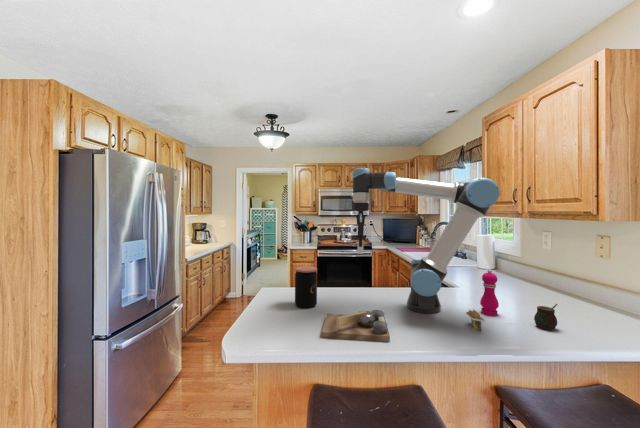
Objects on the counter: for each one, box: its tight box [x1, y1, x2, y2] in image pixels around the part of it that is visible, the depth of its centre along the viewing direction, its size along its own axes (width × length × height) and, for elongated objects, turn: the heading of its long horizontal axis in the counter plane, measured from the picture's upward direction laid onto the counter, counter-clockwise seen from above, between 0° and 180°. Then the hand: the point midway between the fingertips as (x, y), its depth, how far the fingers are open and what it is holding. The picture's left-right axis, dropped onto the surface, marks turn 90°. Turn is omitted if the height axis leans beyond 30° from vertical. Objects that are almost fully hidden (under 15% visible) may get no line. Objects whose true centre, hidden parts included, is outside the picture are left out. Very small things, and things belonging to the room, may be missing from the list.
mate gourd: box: [533, 303, 558, 331], centre depth 114 cm, size 7×8×10 cm
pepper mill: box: [480, 268, 499, 317], centre depth 129 cm, size 7×7×20 cm
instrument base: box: [321, 309, 391, 343], centre depth 111 cm, size 24×19×5 cm
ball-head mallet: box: [337, 310, 375, 327], centre depth 108 cm, size 16×7×5 cm, turn 120°
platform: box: [465, 308, 486, 332], centre depth 114 cm, size 12×18×7 cm, turn 175°
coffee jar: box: [294, 265, 318, 310], centre depth 139 cm, size 11×11×18 cm
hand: (360, 253), depth 132 cm, fingers closed
